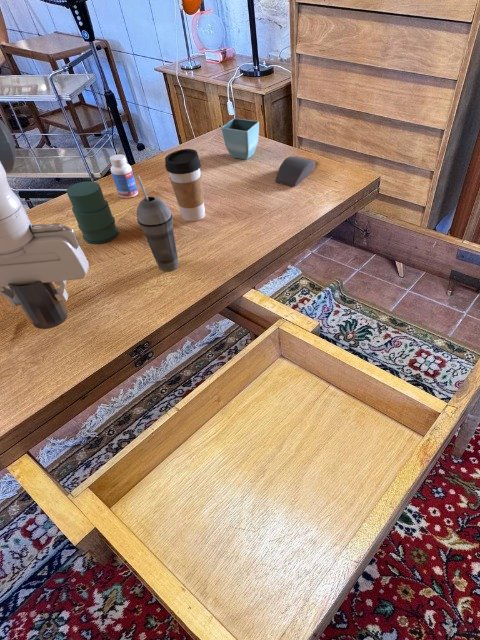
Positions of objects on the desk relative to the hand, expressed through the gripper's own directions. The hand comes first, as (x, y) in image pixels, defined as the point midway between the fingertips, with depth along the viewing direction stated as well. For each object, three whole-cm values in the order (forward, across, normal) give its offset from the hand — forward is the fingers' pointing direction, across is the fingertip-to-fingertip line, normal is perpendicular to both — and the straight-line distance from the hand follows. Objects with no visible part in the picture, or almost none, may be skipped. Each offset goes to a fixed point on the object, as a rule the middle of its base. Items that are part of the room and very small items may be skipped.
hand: (41, 301), depth 78 cm
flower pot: (+9, -41, -79) cm, 90 cm away
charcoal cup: (+4, 0, 0) cm, 4 cm away
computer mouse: (+9, -55, -62) cm, 84 cm away
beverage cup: (+10, -20, -22) cm, 31 cm away
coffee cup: (+9, -25, -44) cm, 52 cm away
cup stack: (+10, -2, -39) cm, 40 cm away
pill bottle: (+10, -7, -60) cm, 61 cm away
